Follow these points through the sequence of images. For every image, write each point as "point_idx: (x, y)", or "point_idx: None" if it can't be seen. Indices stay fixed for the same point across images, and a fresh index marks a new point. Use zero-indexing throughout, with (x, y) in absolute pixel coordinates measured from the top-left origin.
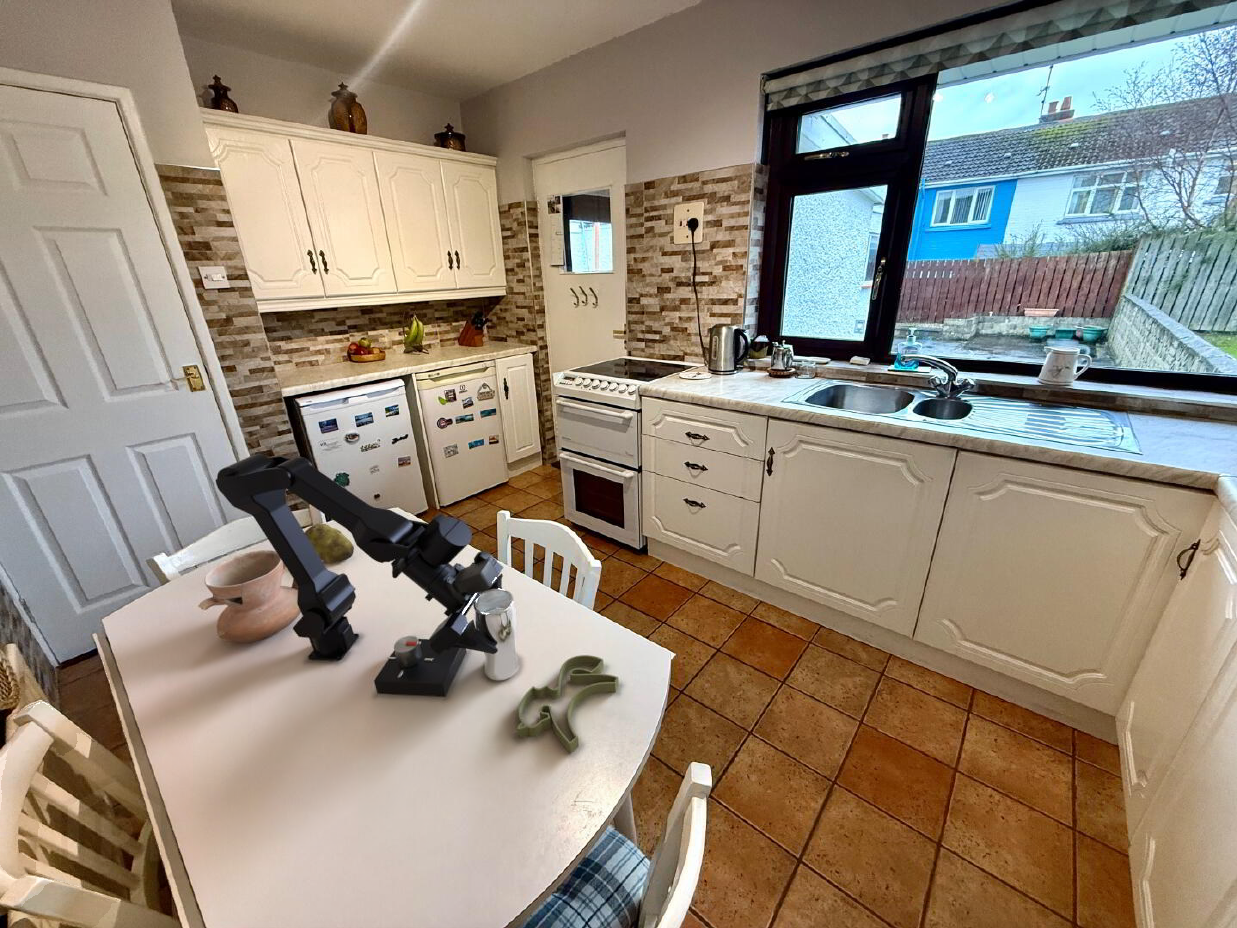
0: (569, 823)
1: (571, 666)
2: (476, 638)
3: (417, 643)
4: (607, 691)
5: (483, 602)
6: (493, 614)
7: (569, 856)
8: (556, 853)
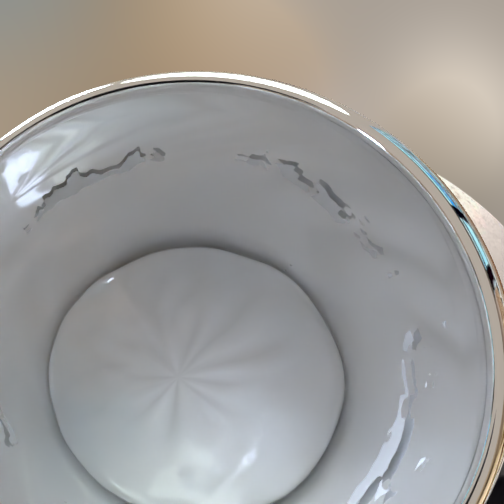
0: (473, 216)
1: None
2: None
3: None
4: None
5: (22, 482)
6: (463, 208)
7: (490, 216)
8: (494, 227)
